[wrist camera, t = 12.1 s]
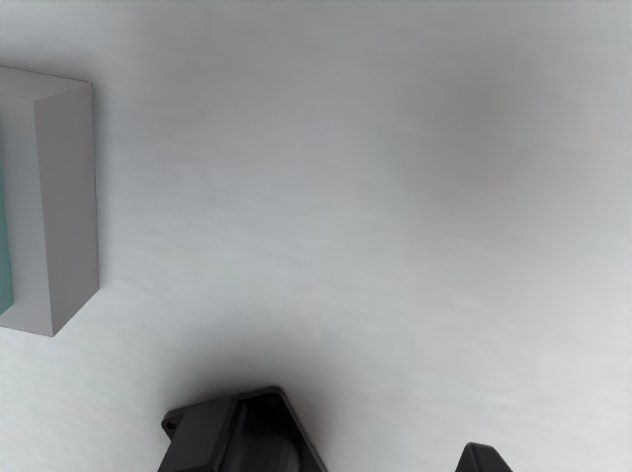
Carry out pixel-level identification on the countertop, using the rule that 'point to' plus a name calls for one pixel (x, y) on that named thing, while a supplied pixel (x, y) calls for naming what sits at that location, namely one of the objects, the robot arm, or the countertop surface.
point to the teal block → (4, 261)
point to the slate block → (48, 197)
